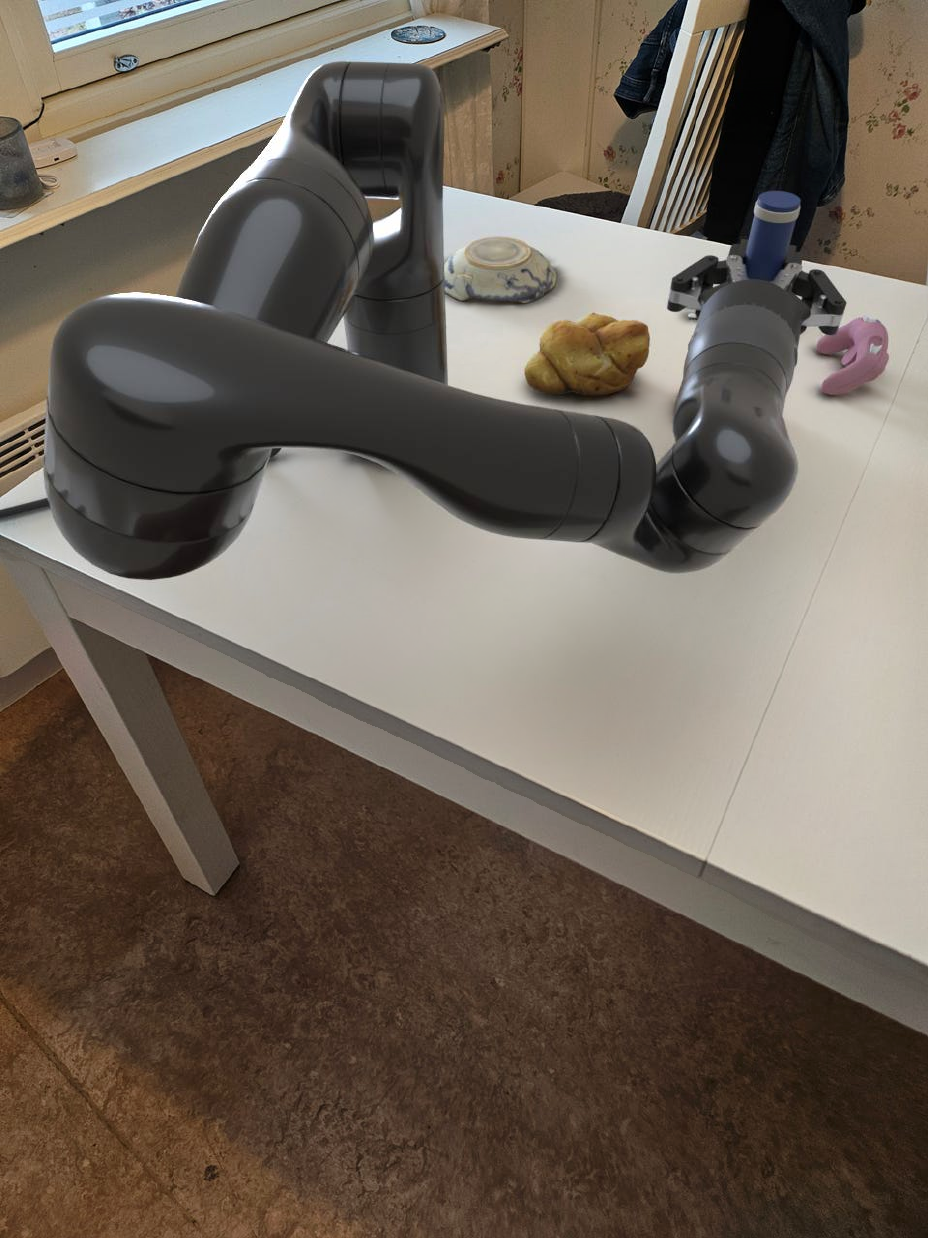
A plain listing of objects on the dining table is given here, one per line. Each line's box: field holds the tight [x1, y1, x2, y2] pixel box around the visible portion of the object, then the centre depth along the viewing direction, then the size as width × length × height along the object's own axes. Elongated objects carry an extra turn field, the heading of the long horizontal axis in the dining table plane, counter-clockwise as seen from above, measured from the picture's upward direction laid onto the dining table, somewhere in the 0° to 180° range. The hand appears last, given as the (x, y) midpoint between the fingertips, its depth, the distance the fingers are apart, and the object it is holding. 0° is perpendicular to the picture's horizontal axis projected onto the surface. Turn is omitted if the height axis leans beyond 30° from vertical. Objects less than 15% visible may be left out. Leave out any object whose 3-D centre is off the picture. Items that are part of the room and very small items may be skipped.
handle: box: [744, 190, 802, 281], centre depth 73 cm, size 3×3×14 cm
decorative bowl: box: [444, 236, 557, 304], centre depth 110 cm, size 15×4×15 cm
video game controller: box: [815, 314, 890, 396], centre depth 93 cm, size 10×5×7 cm, turn 169°
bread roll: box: [524, 312, 651, 396], centre depth 92 cm, size 13×10×8 cm
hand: (766, 253), depth 74 cm, fingers closed on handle, 3 cm apart
